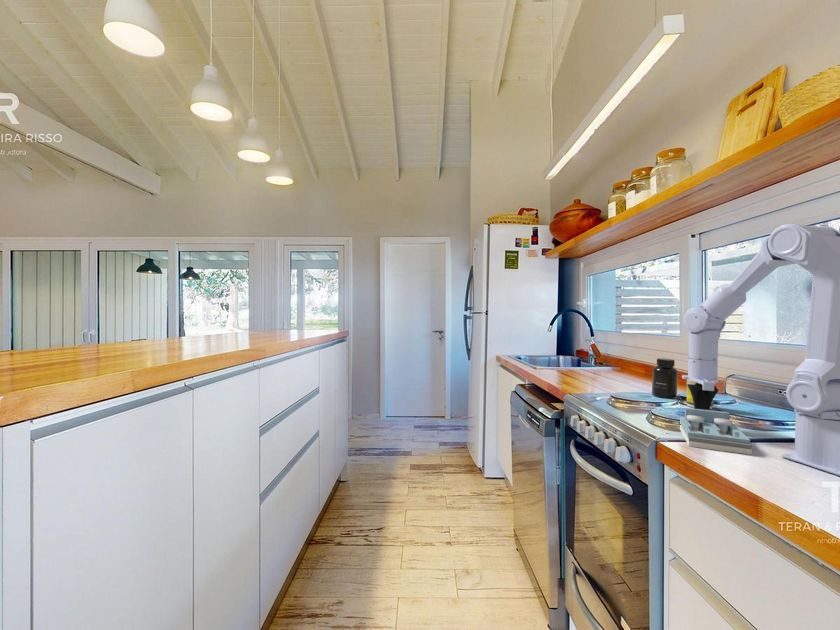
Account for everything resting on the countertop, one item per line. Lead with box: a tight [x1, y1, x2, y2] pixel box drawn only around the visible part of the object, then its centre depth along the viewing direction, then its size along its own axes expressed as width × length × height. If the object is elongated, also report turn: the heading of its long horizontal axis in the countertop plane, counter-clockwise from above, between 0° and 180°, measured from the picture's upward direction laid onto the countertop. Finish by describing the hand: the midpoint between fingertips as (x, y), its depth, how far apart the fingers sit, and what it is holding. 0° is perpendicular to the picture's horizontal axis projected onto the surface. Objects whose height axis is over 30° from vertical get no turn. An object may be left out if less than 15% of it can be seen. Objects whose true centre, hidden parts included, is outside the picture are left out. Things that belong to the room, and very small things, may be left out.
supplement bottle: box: [651, 357, 679, 400], centre depth 124 cm, size 7×7×12 cm
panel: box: [680, 407, 751, 444], centre depth 83 cm, size 12×10×4 cm
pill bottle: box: [686, 379, 714, 410], centre depth 111 cm, size 6×6×11 cm
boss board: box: [679, 415, 753, 456], centre depth 86 cm, size 20×10×4 cm, turn 153°
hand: (701, 415), depth 93 cm, fingers closed
